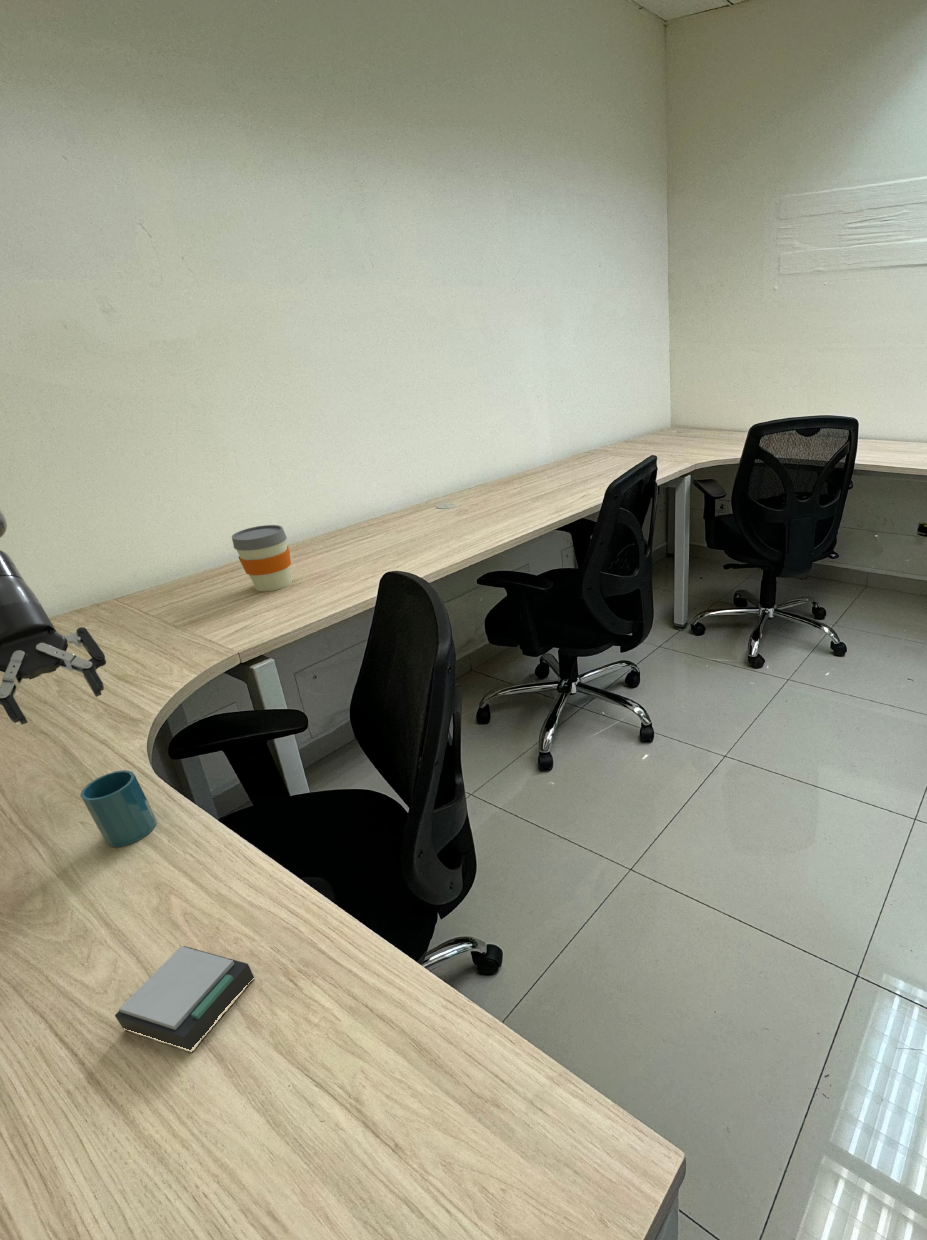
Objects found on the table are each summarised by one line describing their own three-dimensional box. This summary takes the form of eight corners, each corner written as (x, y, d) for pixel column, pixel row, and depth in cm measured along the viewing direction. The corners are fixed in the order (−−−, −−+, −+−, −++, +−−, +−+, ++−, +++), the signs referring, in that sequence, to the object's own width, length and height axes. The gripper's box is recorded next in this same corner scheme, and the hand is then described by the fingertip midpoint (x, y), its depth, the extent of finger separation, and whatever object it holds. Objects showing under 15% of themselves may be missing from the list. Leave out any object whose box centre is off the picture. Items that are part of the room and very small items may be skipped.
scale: (123, 1030, 66) (111, 1011, 64) (191, 960, 73) (181, 941, 71) (192, 1053, 63) (180, 1034, 62) (255, 978, 70) (246, 959, 69)
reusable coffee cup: (237, 592, 171) (218, 538, 165) (274, 574, 182) (258, 523, 176) (274, 596, 168) (256, 541, 161) (309, 577, 178) (294, 525, 172)
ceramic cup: (95, 843, 90) (69, 796, 86) (135, 813, 95) (112, 767, 91) (127, 850, 88) (102, 803, 85) (166, 819, 94) (144, 773, 90)
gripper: (-66, 622, 86) (-10, 723, 84) (66, 585, 95) (119, 675, 93) (-51, 646, 91) (2, 741, 89) (72, 609, 101) (123, 694, 99)
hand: (62, 707), depth 91 cm, fingers open, 8 cm apart
